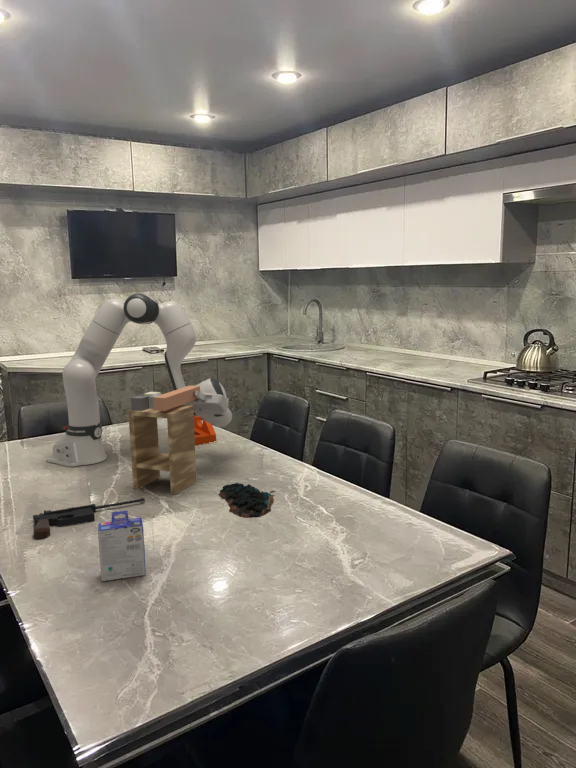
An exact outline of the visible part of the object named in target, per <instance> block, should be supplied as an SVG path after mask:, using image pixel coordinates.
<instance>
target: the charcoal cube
mask: <svg viewBox="0 0 576 768" xmlns="http://www.w3.org/2000/svg"><path fill="white" fill-rule="evenodd" d="M130 404H131V405H130V406H131V407H130V408H131V410H137V411H143V410H146V409H149V396H144V395H136V396H132V397H130Z"/></svg>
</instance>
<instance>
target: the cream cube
mask: <svg viewBox="0 0 576 768" xmlns="http://www.w3.org/2000/svg"><path fill="white" fill-rule="evenodd" d="M156 394H160V395H162V392H161V391H160V392H159V391H149V392H146V393H143V396H152V395H156ZM149 406H150V401H149Z"/></svg>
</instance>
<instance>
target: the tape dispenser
mask: <svg viewBox="0 0 576 768" xmlns="http://www.w3.org/2000/svg"><path fill="white" fill-rule="evenodd" d="M194 433H195V446H200V445H199V444H201V445H205V444H204V443H208V444H210V443H209V442H214V441H216V442H217V433H216V431H215V429H214V426H213V425H211V424H210V423H208V422H207V421H206V420H204V419H203V420H202V418H201V417H199V416H198V415H194ZM214 443H215V442H214Z"/></svg>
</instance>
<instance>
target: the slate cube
mask: <svg viewBox="0 0 576 768" xmlns="http://www.w3.org/2000/svg"><path fill="white" fill-rule="evenodd" d="M159 395H160V394H156V395H152V396H149V401H150V409H154V399H153V397H156V396H159Z"/></svg>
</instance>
